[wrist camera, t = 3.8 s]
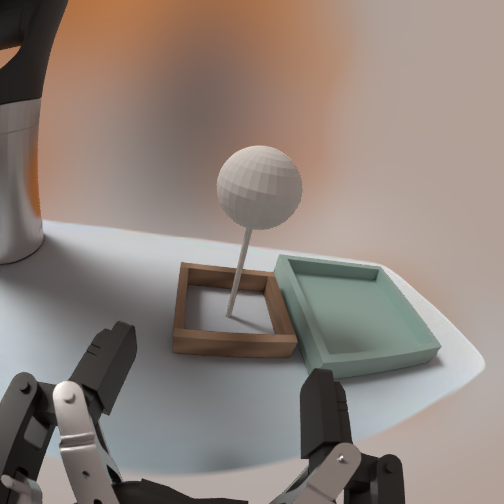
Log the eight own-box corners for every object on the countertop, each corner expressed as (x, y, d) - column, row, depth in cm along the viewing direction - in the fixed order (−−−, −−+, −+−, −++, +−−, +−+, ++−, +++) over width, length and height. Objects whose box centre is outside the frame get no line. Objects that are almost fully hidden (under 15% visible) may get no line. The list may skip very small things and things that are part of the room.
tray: (311, 381, 20) (323, 363, 18) (273, 272, 32) (279, 254, 31) (428, 361, 23) (441, 346, 22) (373, 281, 36) (380, 266, 35)
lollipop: (193, 292, 26) (219, 133, 19) (250, 293, 28) (291, 146, 21) (200, 341, 21) (236, 148, 14) (268, 339, 23) (329, 167, 16)
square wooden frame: (172, 352, 19) (172, 335, 18) (179, 278, 27) (181, 262, 26) (290, 357, 21) (297, 342, 20) (268, 287, 30) (273, 272, 29)
